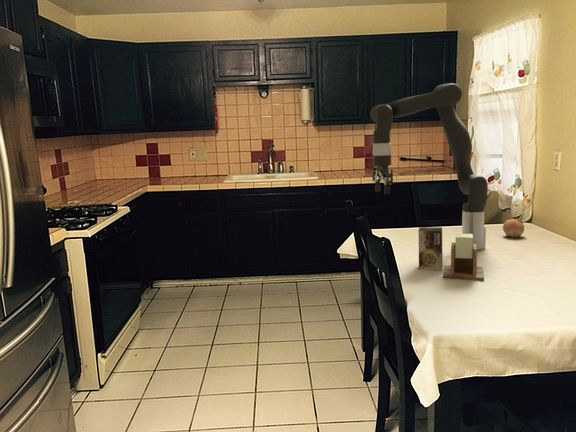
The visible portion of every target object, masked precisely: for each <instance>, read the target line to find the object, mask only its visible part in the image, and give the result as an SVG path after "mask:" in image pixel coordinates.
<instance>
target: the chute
mask: <svg viewBox="0 0 576 432" xmlns="http://www.w3.org/2000/svg"><path fill="white" fill-rule="evenodd" d="M477 260H478V250H477V245H476V243H473V253H472V259H471V258H455V242H451V244H450V265H444V267H443V268H444V269H443V279H448V280H465V281H467V280H468V281H485V275H484V269H483V266H478V265H477V263H478V261H477Z"/></svg>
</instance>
